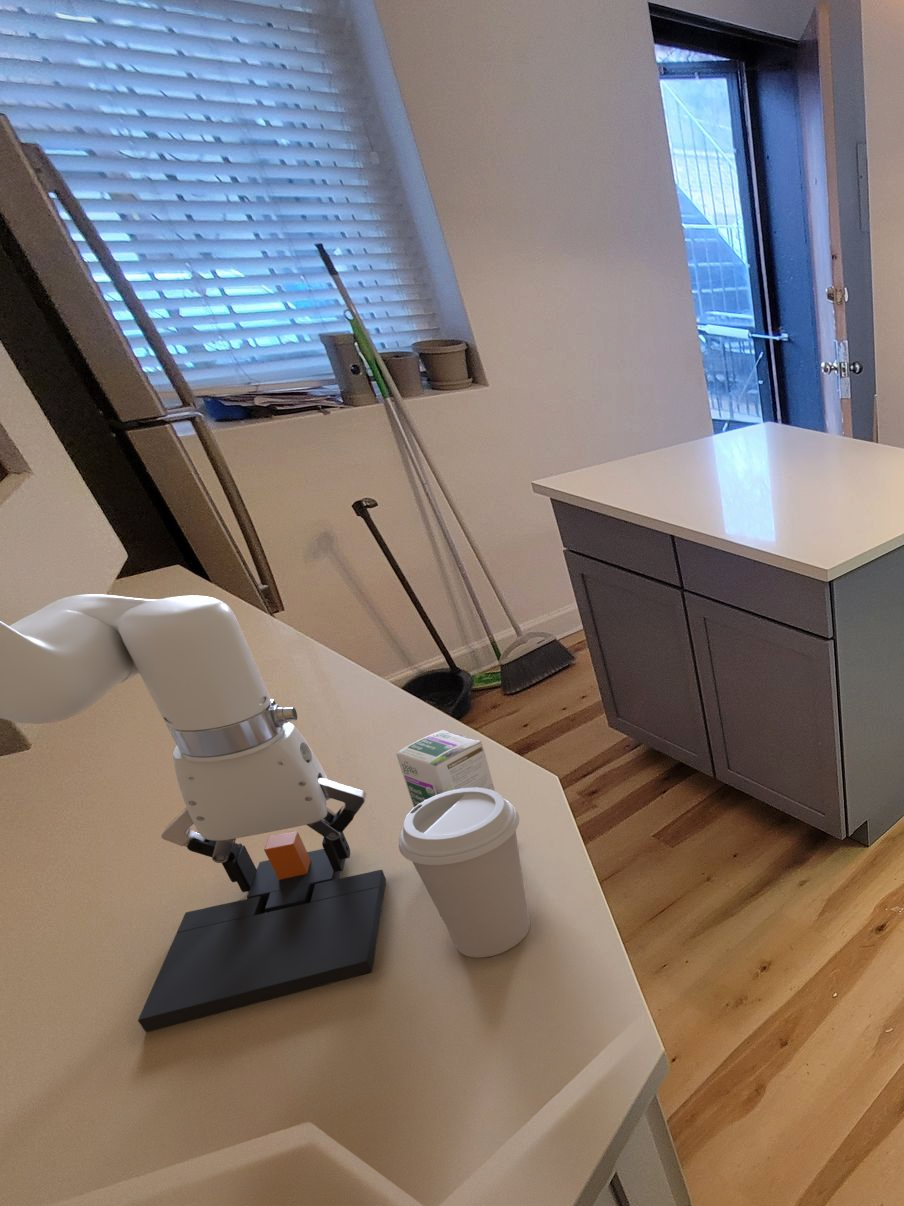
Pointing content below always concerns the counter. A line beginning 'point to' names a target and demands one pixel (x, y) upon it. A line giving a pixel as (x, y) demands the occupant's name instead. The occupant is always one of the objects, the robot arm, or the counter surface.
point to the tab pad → (290, 886)
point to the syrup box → (443, 765)
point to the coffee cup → (470, 867)
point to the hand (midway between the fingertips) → (296, 872)
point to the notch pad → (266, 950)
